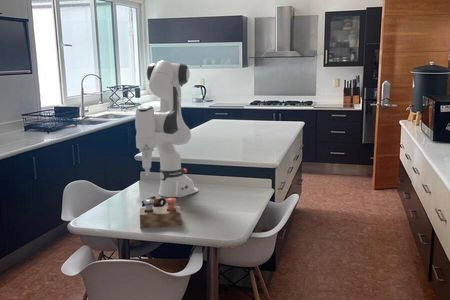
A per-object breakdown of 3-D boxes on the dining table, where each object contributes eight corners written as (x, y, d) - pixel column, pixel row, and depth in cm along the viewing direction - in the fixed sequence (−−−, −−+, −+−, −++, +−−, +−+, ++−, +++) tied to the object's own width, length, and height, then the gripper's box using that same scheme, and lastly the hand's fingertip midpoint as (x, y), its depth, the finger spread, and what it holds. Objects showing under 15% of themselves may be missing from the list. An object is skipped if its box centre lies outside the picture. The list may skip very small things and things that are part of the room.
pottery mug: (147, 216, 222) (140, 200, 223) (145, 219, 231) (139, 203, 232) (170, 207, 226) (163, 191, 227) (167, 209, 235) (161, 195, 236)
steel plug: (154, 212, 212) (153, 198, 211) (154, 216, 208) (153, 201, 207) (144, 213, 212) (143, 199, 211) (143, 216, 207) (143, 202, 206)
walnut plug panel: (179, 218, 218) (179, 205, 216) (181, 225, 208) (180, 212, 207) (140, 220, 215) (140, 207, 214) (140, 227, 205) (139, 215, 204)
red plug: (176, 211, 214) (175, 197, 212) (176, 214, 209) (176, 200, 208) (166, 212, 213) (165, 197, 212) (166, 215, 209) (165, 200, 207)
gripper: (153, 147, 194) (154, 179, 197) (153, 139, 214) (154, 168, 217) (138, 148, 193) (139, 180, 196) (139, 139, 213) (141, 169, 216)
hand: (147, 174), depth 206 cm, fingers open, 4 cm apart
